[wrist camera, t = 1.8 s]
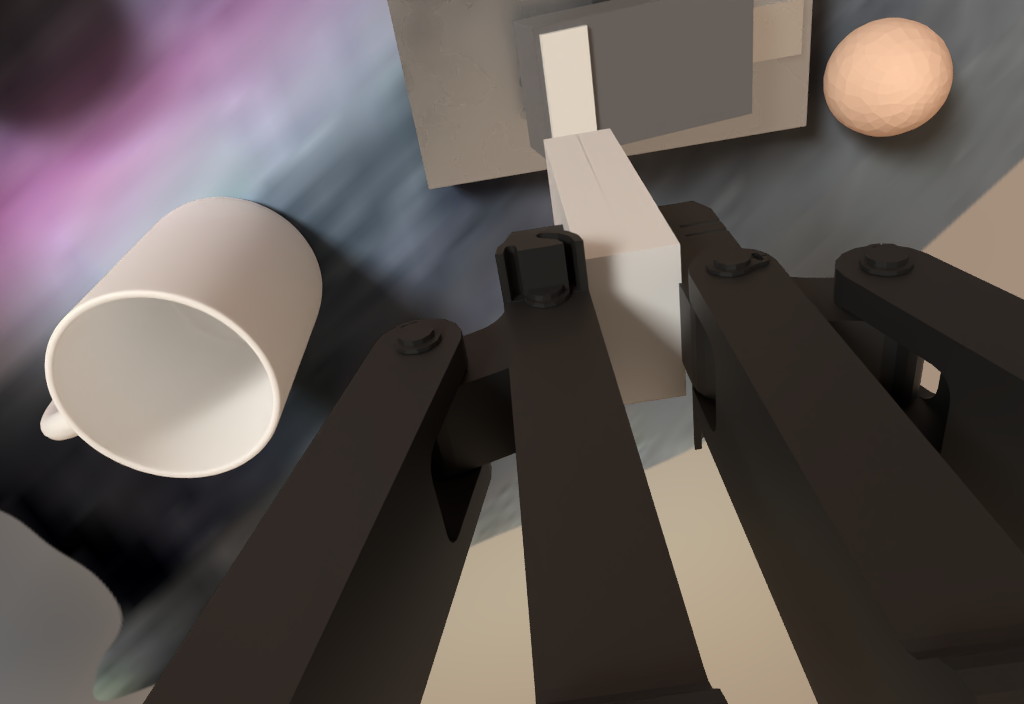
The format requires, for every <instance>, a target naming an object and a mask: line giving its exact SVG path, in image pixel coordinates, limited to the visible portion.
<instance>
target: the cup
mask: <svg viewBox="0 0 1024 704" xmlns="http://www.w3.org/2000/svg"><path fill="white" fill-rule="evenodd" d="M321 299H322V277H321V271H320V268H319V264H318V262H317V259H316V257H315V254H314V253H313V251H312V249H311V247H310V246H309V244H308V242H307V241H306V240H305V238H304V237H303V236H302V234H301V233H300V232H299V231H298V230H297V229H296V228H295V227H294V226H293V225H292V224H291V223H290V222H289V221H287V220H286V219H285V218H283V217H282V216H280V215H279V214H277V213H276V212H274V211H272V210H270V209H268V208H267V207H264V206H262V205H260V204H257V203H254V202H251V201H248V200H243V199H238V198H231V197H209V198H202V199H198V200H194V201H191V202H189V203H186V204H184V205H182V206H180V207H178V208H176V209H174V210H173V211H171V212H170V213H168V214H167V215H166V216H165V217H163V218H162V219H161V220H160V221H159V222H157V223H156V224H155V225H154V226H153V227H152V228H151V229H150V230H149V231H148V232H147V233H146V235H145V236H144V237H143V238H142V239H141V240H140V241H139V242H138V243H137V244H136V245H135V246H134V247H133V248H132V249H131V250H130V251H129V252H128V253H127V254H126V255H125V256H124V257H123V258H122V259H121V260H120V261H119V262H118V263H117V264H116V265H115V266H114V267H113V268H112V269H111V270H110V271H109V272H108V273H107V274H106V275H105V276H104V277H103V278H102V279H101V280H100V281H99V282H98V283H97V285H96V286H95V287H94V288H93V289H92V290H91V291H90V292H89V293H88V294H87V295H86V296H85V297H84V298H83V299H82V300H81V301H80V302H79V303H78V304H77V305H76V306H75V307H74V308H73V309H72V310H71V311H70V312H69V313H68V314H67V315H66V316H65V317H64V318H63V319H62V320H61V321H60V323H59V324H58V326H57V327H56V328H55V330H54V332H53V334H52V336H51V337H50V340H49V343H48V346H47V350H46V355H45V375H46V381H47V386H48V389H49V392H50V395H51V397H52V401H51V403H50V404H49V406H48V407H47V409H46V410H45V412H44V414H43V416H42V419H41V422H40V426H41V431H42V432H43V434H44V435H45V436H47V437H48V438H50V439H53V440H65V439H70V438H73V437H76V436H80V437H81V438H82V439H83V440H84V441H85V442H86V443H88V444H89V445H90V446H92V447H93V448H94V449H96V450H97V451H99V452H100V453H102V454H103V455H105V456H107V457H109V458H111V459H112V460H114V461H116V462H118V463H121V464H123V465H125V466H128V467H130V468H133V469H136V470H139V471H142V472H145V473H149V474H154V475H159V476H165V477H174V478H198V477H206V476H211V475H216V474H220V473H223V472H226V471H229V470H231V469H234V468H236V467H238V466H240V465H242V464H244V463H246V462H247V461H249V460H250V459H252V458H253V457H254V456H255V455H257V454H258V453H259V452H260V451H261V450H262V449H263V448H264V447H265V446H266V444H267V443H268V442H269V440H270V439H271V437H272V435H273V434H274V432H275V429H276V427H277V425H278V422H279V419H280V416H281V414H282V411H283V408H284V406H285V403H286V400H287V397H288V395H289V392H290V389H291V387H292V384H293V381H294V378H295V376H296V373H297V370H298V368H299V365H300V362H301V360H302V357H303V354H304V351H305V349H306V346H307V343H308V341H309V338H310V335H311V332H312V330H313V327H314V324H315V322H316V319H317V316H318V312H319V309H320V305H321Z"/></svg>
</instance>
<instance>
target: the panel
mask: <svg viewBox="0 0 1024 704" xmlns="http://www.w3.org/2000/svg"><path fill="white" fill-rule="evenodd" d="M387 1H388V5H389V10H390V14H391V19H392V23H393V28H394V32H395V37H396V41H397V46H398V51H399V55H400V60H401V64H402V69H403V73H404V78H405V82H406V87H407V91H408V96H409V100H410V105H411V109H412V114H413V118H414V123H415V127H416V132H417V136H418V141H419V146H420V150H421V155H422V159H423V164H424V168H425V173H426V177H427V182H428V186H429V189H433V188H439V187H445V186H451V185H457V184H463V183H469V182H475V181H481V180H487V179H493V178H499V177H505V176H511V175H517V174H523V173H529V172H535V171H541V170H547V164H546V159H545V158H544V157H542V156H541V155H540V154H539V153H537V152H536V151H535V150H534V149H533V148H531V147H530V140H529V133H528V126H527V119H526V112H525V105H524V98H523V91H522V84H521V77H520V70H519V63H518V56H517V49H516V42H515V35H514V28H513V21H515V20H519V19H524V18H529V17H534V16H538V15H543V14H548V13H553V12H557V11H562V10H567V9H572V8H577V7H581V6H586V5H591V4H596V3H600V2H605V1H610V0H387ZM812 3H813V0H754V10H753V84H752V114H748V115H744V116H740V117H736V118H732V119H727V120H723V121H719V122H715V123H711V124H707V125H703V126H699V127H694V128H690V129H686V130H682V131H678V132H674V133H670V134H666V135H662V136H657V137H653V138H649V139H645V140H641V141H637V142H633V143H629V144H625V145H620V146H621V147H622V149H623V151H624V152H625V154H626V156H630V155H636V154H642V153H648V152H654V151H660V150H666V149H672V148H678V147H684V146H690V145H696V144H702V143H708V142H714V141H719V140H725V139H731V138H737V137H743V136H749V135H755V134H761V133H767V132H773V131H779V130H785V129H791V128H797V127H803V126H806V120H807V101H808V81H809V62H810V42H811V23H812Z"/></svg>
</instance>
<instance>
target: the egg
mask: <svg viewBox="0 0 1024 704" xmlns="http://www.w3.org/2000/svg"><path fill="white" fill-rule="evenodd" d="M952 80H953V64H952V60H951V57H950V53H949V50H948V49H947V47H946V45H945V43H944V41H943V40H942V39H941V38H940V37H939V36H938V35H937V34H936V33H935V32H933V31H932V30H931V29H930V28H929V27H927V26H925V25H923V24H921V23H918V22H916V21H913V20H908V19H903V18H885V19H880V20H876V21H872V22H869V23H867V24H865V25H863V26H861V27H859V28H857V29H855V30H854V31H853V32H851V33H850V34H848V35H847V36H846V37H845V38H844V39H843V40H842V41H841V42H840V43H839V44H838V46H837V47H836V48H835V50H834V51H833V53H832V55H831V57H830V59H829V61H828V63H827V66H826V70H825V74H824V78H823V82H824V95H825V99H826V102H827V105H828V107H829V109H830V111H831V112H832V114H833V115H834V116H835V117H836V119H837V120H838V121H839V122H841V123H842V124H843V125H845V126H846V127H848V128H850V129H852V130H854V131H856V132H859V133H862V134H865V135H868V136H875V137H885V136H894V135H898V134H902V133H904V132H907V131H910V130H913V129H915V128H917V127H919V126H920V125H922V124H924V123H925V122H927V121H928V120H929V119H930V118H931V117H933V116H934V115H935V114H936V113H937V112H938V110H939V109H940V108H941V107H942V105H943V104H944V102H945V101H946V99H947V97H948V94H949V92H950V89H951V85H952Z"/></svg>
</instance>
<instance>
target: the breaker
mask: <svg viewBox="0 0 1024 704" xmlns="http://www.w3.org/2000/svg"><path fill="white" fill-rule="evenodd" d="M753 10H754V0H610V1H605V2H600V3H596V4H591V5H586V6H581V7H577V8H572V9H567V10H562V11H557V12H553V13H548V14H543V15H538V16H534V17H529V18H524V19H519V20H515V21H513V28H514V35H515V42H516V49H517V56H518V63H519V70H520V77H521V84H522V91H523V98H524V105H525V112H526V119H527V126H528V133H529V140H530V147H531V148H533V149H534V150H535V151H536V152H537V153H539V154H540V155H541V156H542V157H544V158H545V159H546V156H545V149H544V141H543V139H549V138H555V137H561V136H567V135H573V134H579V133H585V132H591V131H597V130H603V129H609V128H610V129H611V131H612V133H613V134H614V136H615V138H616V139H617V141H618V142H619V144H620V145H625V144H629V143H633V142H637V141H641V140H645V139H649V138H653V137H657V136H662V135H666V134H670V133H674V132H678V131H682V130H686V129H690V128H694V127H699V126H703V125H707V124H711V123H715V122H719V121H723V120H727V119H732V118H736V117H740V116H744V115H748V114H752V84H753Z"/></svg>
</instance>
